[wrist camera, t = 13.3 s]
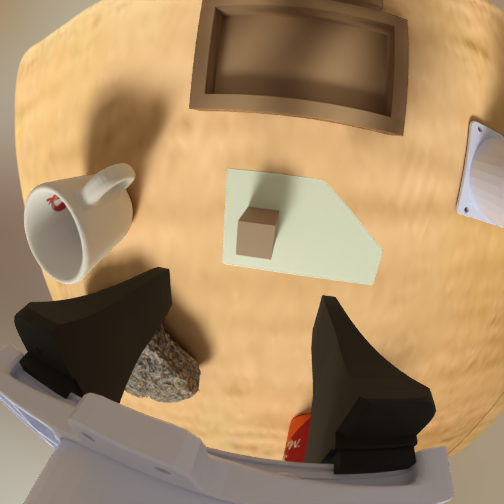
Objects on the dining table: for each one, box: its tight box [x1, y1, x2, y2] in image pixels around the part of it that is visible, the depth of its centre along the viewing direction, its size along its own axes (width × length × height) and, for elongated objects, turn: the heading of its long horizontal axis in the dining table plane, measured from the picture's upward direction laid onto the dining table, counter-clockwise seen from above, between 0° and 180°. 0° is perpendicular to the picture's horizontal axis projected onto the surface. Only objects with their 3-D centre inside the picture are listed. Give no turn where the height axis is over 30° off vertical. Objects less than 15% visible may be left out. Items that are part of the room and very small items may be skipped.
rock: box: [125, 324, 200, 403], centre depth 27 cm, size 13×6×15 cm
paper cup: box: [283, 414, 311, 463], centre depth 25 cm, size 8×8×14 cm
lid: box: [223, 169, 383, 285], centre depth 19 cm, size 13×8×4 cm, turn 85°
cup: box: [24, 163, 135, 284], centre depth 19 cm, size 11×8×8 cm
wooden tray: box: [189, 0, 408, 136], centre depth 13 cm, size 14×12×3 cm
